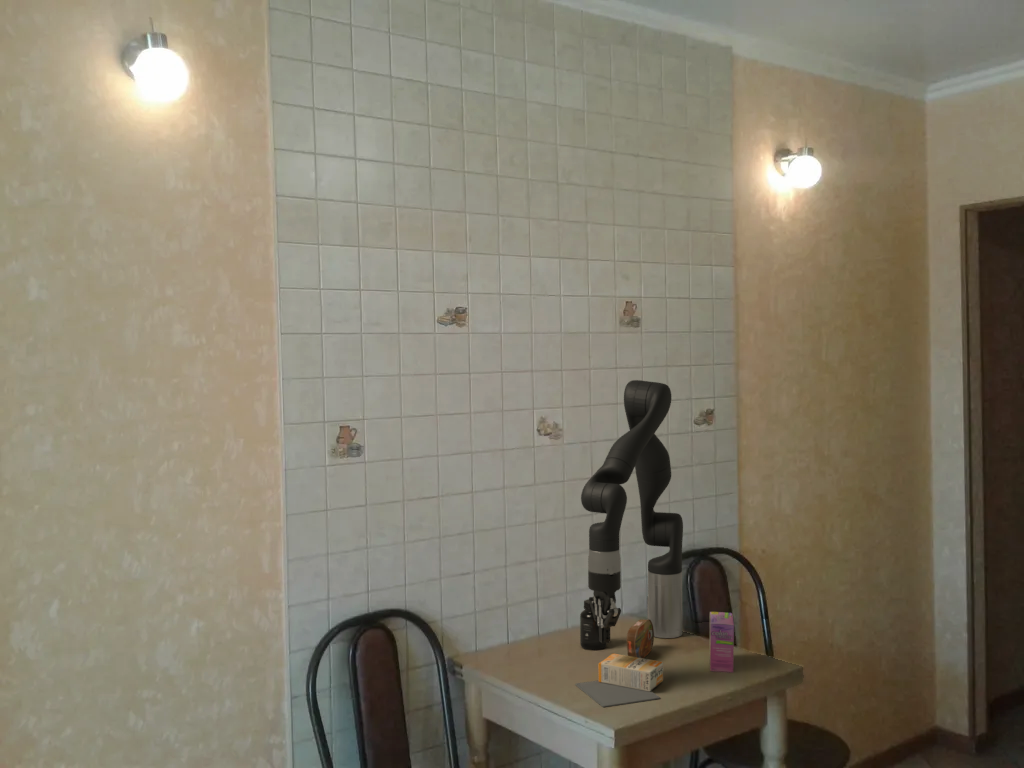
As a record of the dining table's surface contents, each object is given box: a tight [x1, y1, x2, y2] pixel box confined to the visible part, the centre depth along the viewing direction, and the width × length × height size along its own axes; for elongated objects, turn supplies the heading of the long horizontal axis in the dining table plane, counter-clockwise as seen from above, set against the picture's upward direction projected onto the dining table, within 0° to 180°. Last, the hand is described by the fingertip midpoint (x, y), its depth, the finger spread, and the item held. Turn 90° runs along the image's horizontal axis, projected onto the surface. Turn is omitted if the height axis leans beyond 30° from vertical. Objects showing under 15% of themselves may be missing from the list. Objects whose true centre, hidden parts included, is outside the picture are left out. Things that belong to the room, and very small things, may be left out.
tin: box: [626, 619, 655, 659], centre depth 238 cm, size 15×3×8 cm, turn 154°
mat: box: [574, 679, 661, 708], centre depth 212 cm, size 15×14×1 cm
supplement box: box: [597, 653, 664, 692], centre depth 218 cm, size 8×5×13 cm
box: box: [709, 611, 735, 674], centre depth 229 cm, size 10×6×12 cm, turn 168°
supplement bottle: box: [579, 598, 607, 651], centre depth 245 cm, size 7×7×12 cm
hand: (604, 642), depth 217 cm, fingers closed
